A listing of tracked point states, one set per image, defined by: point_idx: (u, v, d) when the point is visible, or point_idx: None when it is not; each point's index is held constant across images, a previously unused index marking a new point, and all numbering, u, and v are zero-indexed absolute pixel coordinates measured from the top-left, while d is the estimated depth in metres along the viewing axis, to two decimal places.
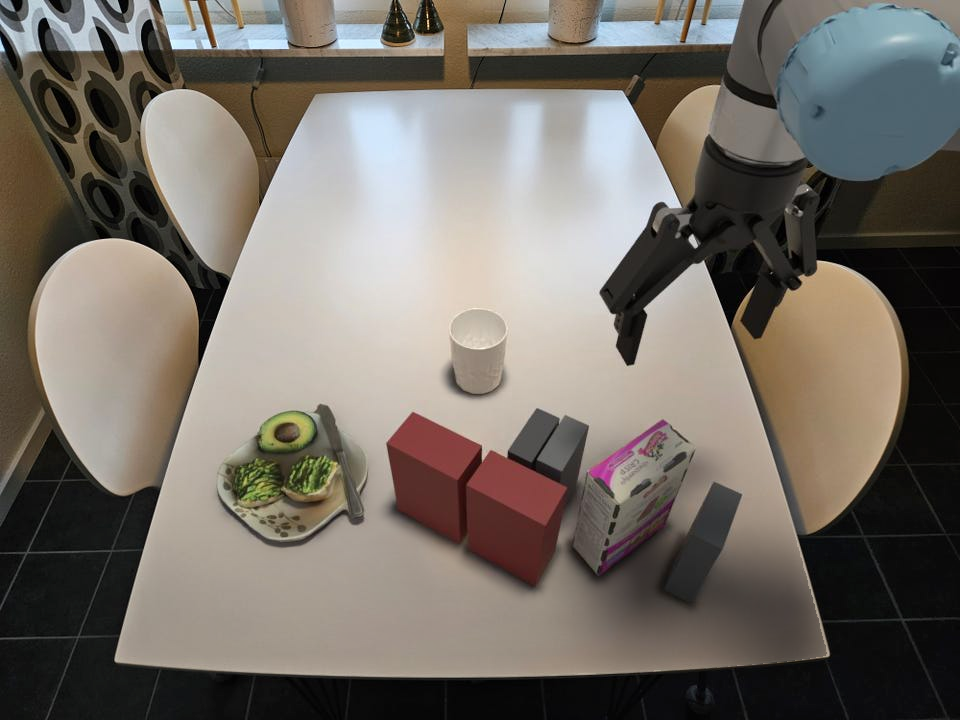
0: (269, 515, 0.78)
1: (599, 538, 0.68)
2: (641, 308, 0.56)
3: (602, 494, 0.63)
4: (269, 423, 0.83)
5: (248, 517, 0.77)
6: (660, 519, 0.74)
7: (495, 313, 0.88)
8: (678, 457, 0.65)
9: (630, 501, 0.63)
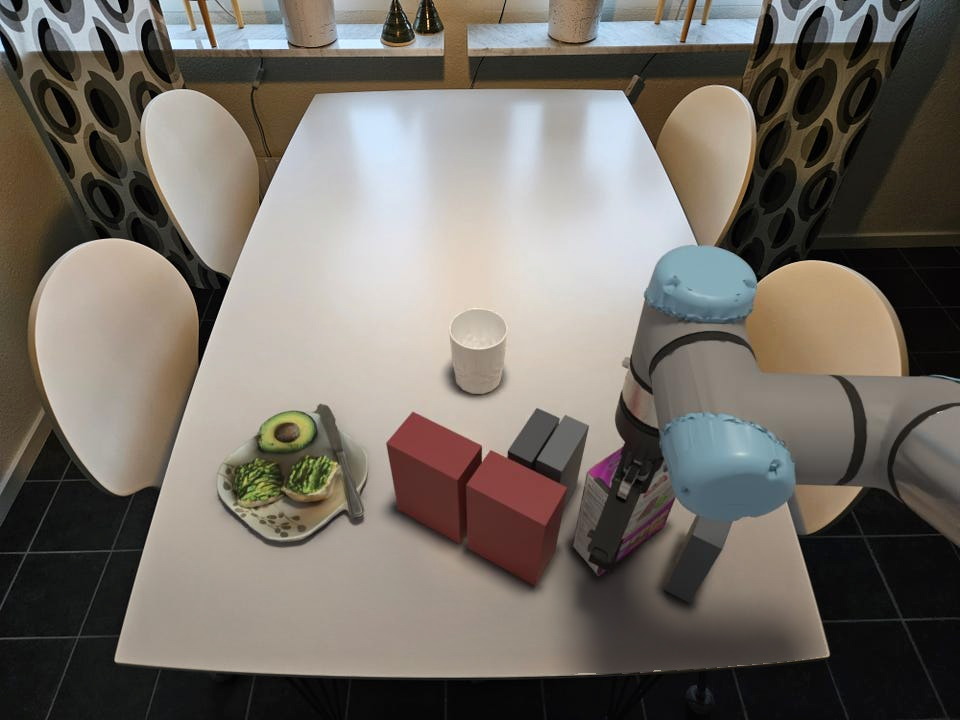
0: (269, 515, 0.78)
1: None
2: (621, 539, 0.64)
3: (602, 494, 0.63)
4: (269, 423, 0.83)
5: (248, 517, 0.77)
6: (660, 519, 0.74)
7: (495, 313, 0.88)
8: None
9: None
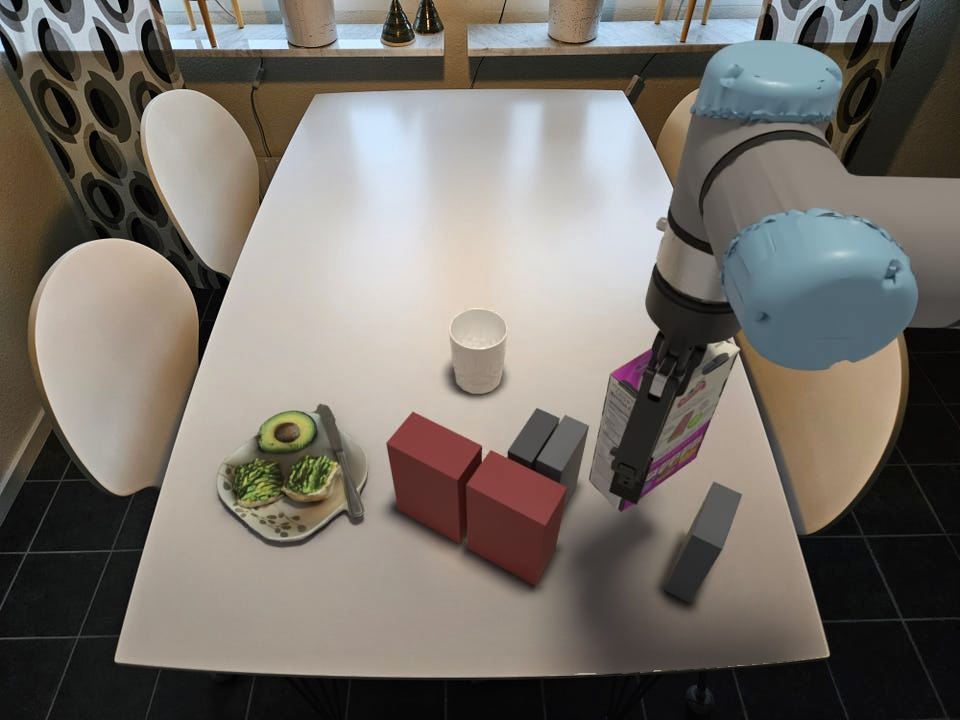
0: (269, 515, 0.78)
1: None
2: (651, 457, 0.53)
3: (628, 400, 0.52)
4: (269, 423, 0.83)
5: (248, 517, 0.77)
6: (692, 447, 0.63)
7: (495, 313, 0.88)
8: (719, 358, 0.54)
9: None
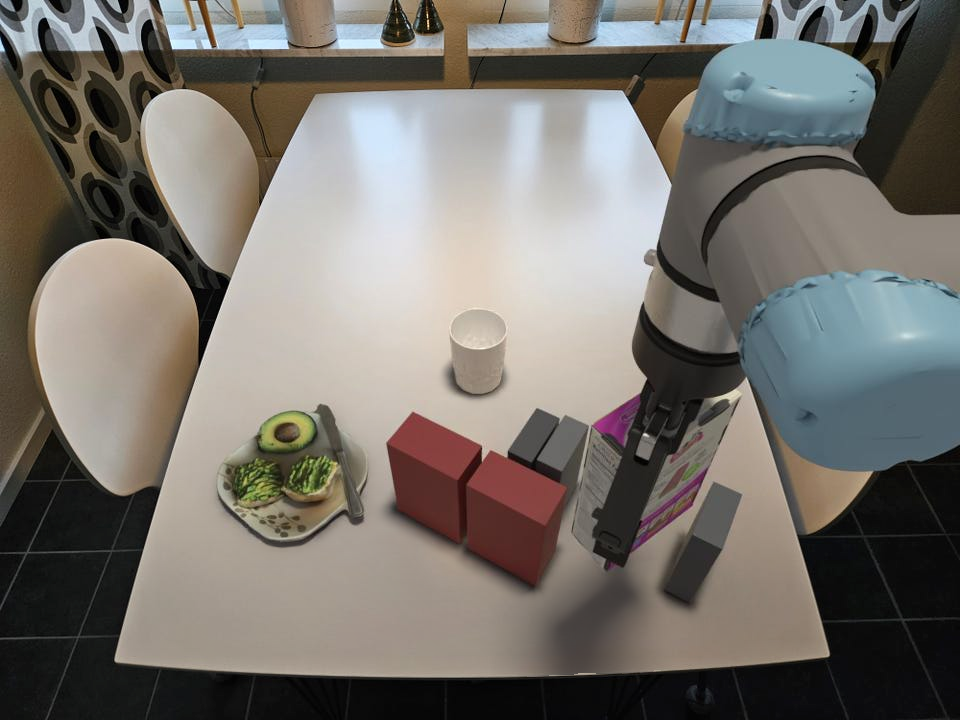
0: (269, 515, 0.78)
1: None
2: None
3: (613, 456, 0.45)
4: (269, 423, 0.83)
5: (248, 517, 0.77)
6: (687, 497, 0.56)
7: (495, 313, 0.88)
8: (719, 406, 0.46)
9: None
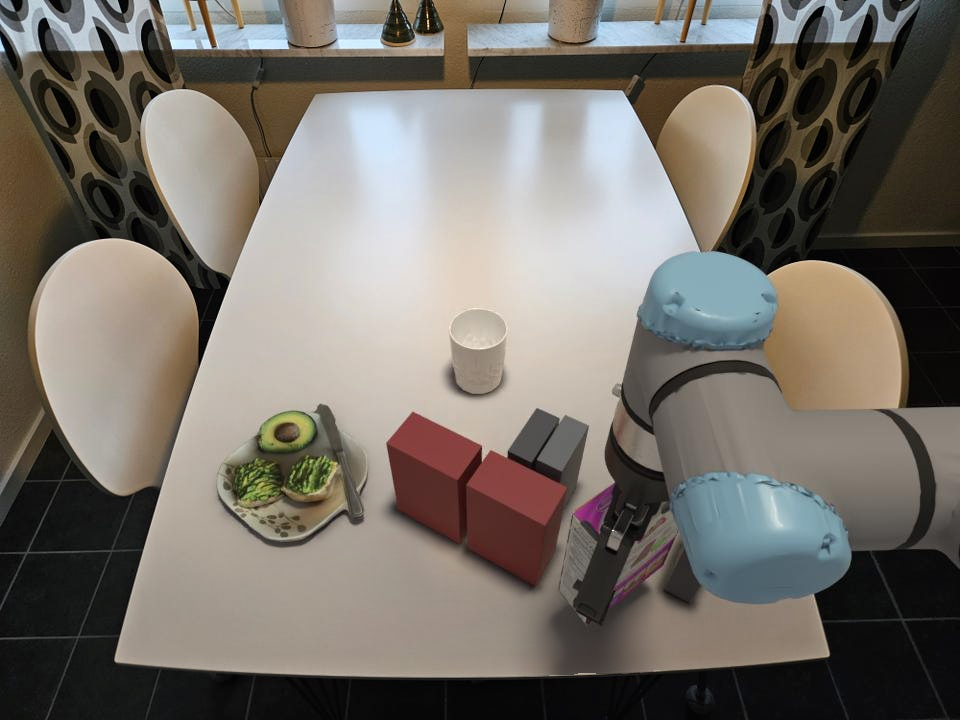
0: (269, 515, 0.78)
1: None
2: (612, 592, 0.55)
3: (590, 540, 0.54)
4: (269, 423, 0.83)
5: (248, 517, 0.77)
6: (658, 560, 0.65)
7: (495, 313, 0.88)
8: None
9: None
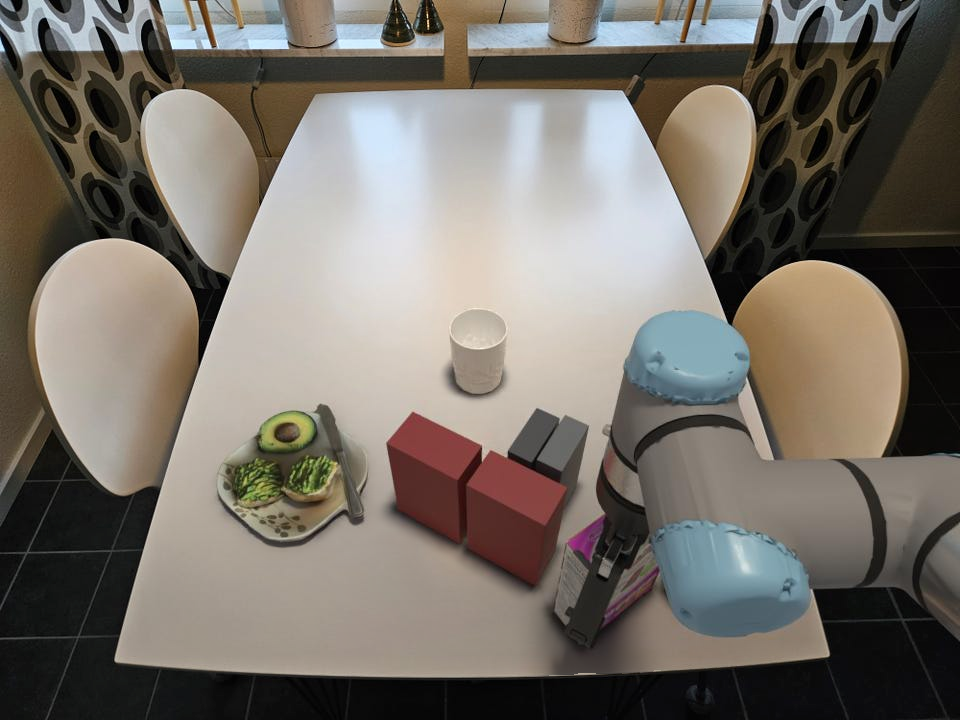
0: (269, 515, 0.78)
1: None
2: None
3: (582, 568, 0.58)
4: (269, 423, 0.83)
5: (248, 517, 0.77)
6: (647, 583, 0.69)
7: (495, 313, 0.88)
8: None
9: None
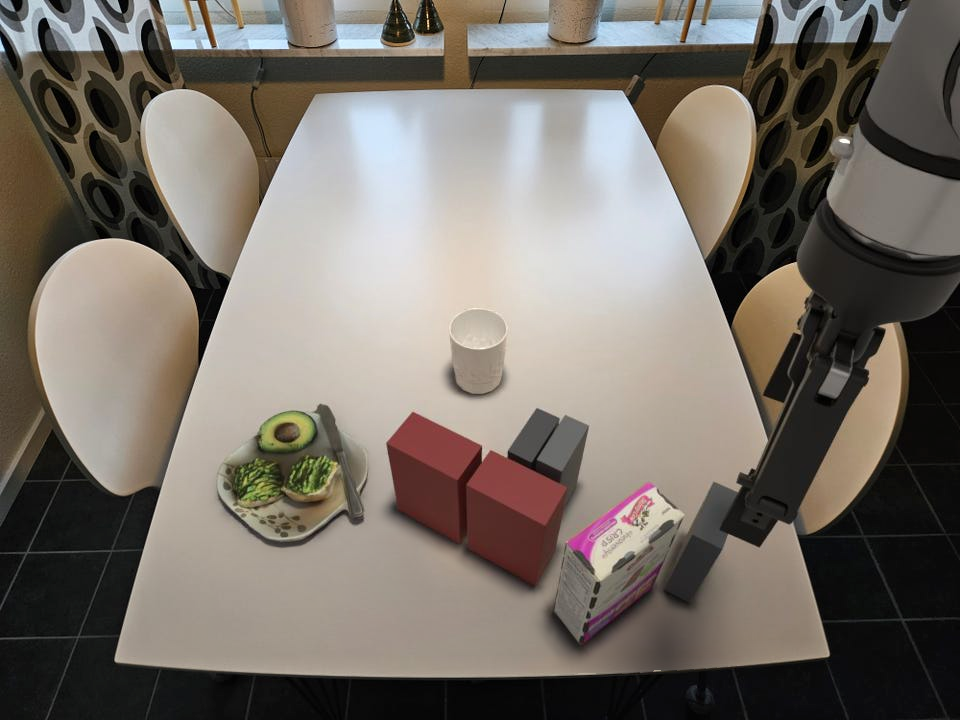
0: (269, 515, 0.78)
1: (581, 610, 0.63)
2: None
3: (582, 568, 0.58)
4: (269, 423, 0.83)
5: (248, 517, 0.77)
6: (647, 583, 0.69)
7: (495, 313, 0.88)
8: (665, 526, 0.60)
9: (612, 577, 0.58)
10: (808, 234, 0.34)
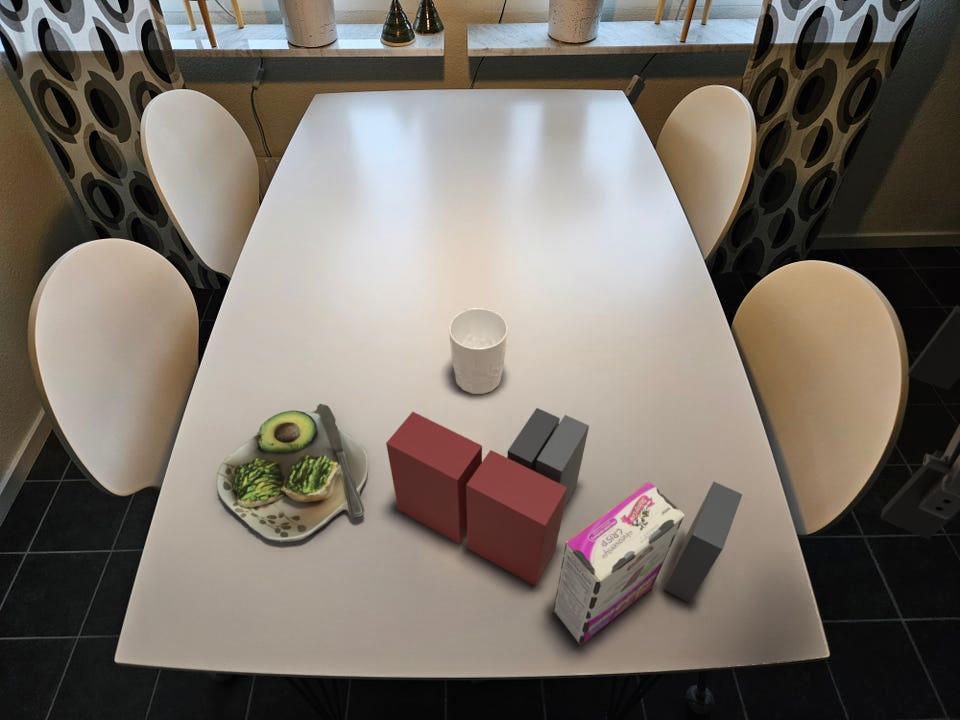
0: (269, 515, 0.78)
1: (581, 610, 0.63)
2: None
3: (582, 568, 0.58)
4: (269, 423, 0.83)
5: (248, 517, 0.77)
6: (647, 583, 0.69)
7: (495, 313, 0.88)
8: (665, 526, 0.60)
9: (612, 577, 0.58)
10: None
